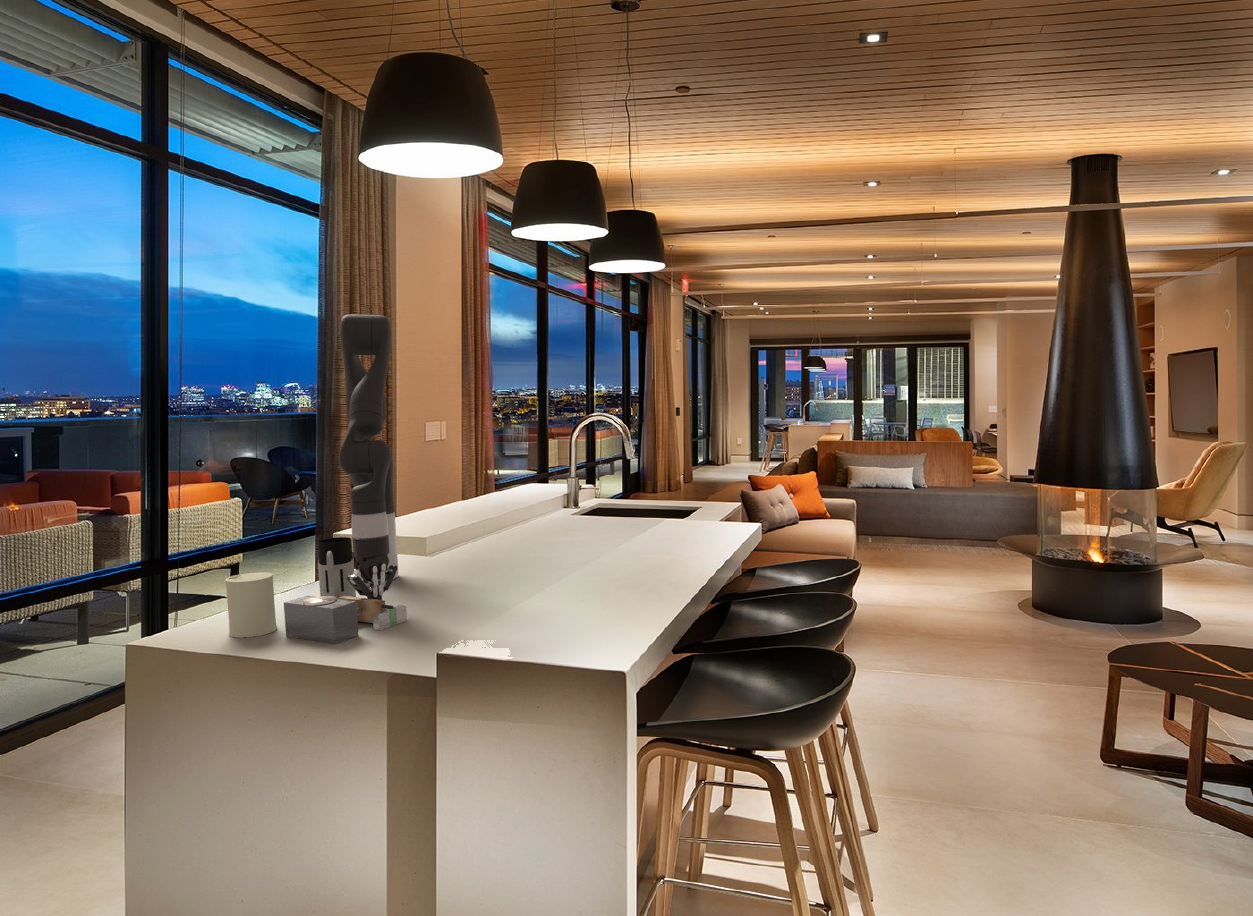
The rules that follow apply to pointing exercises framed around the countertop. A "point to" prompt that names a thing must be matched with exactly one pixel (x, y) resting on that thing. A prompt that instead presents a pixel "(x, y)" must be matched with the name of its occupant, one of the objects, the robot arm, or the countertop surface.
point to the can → (251, 604)
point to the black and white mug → (335, 567)
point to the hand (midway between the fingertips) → (375, 612)
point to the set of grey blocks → (332, 618)
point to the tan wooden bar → (367, 607)
